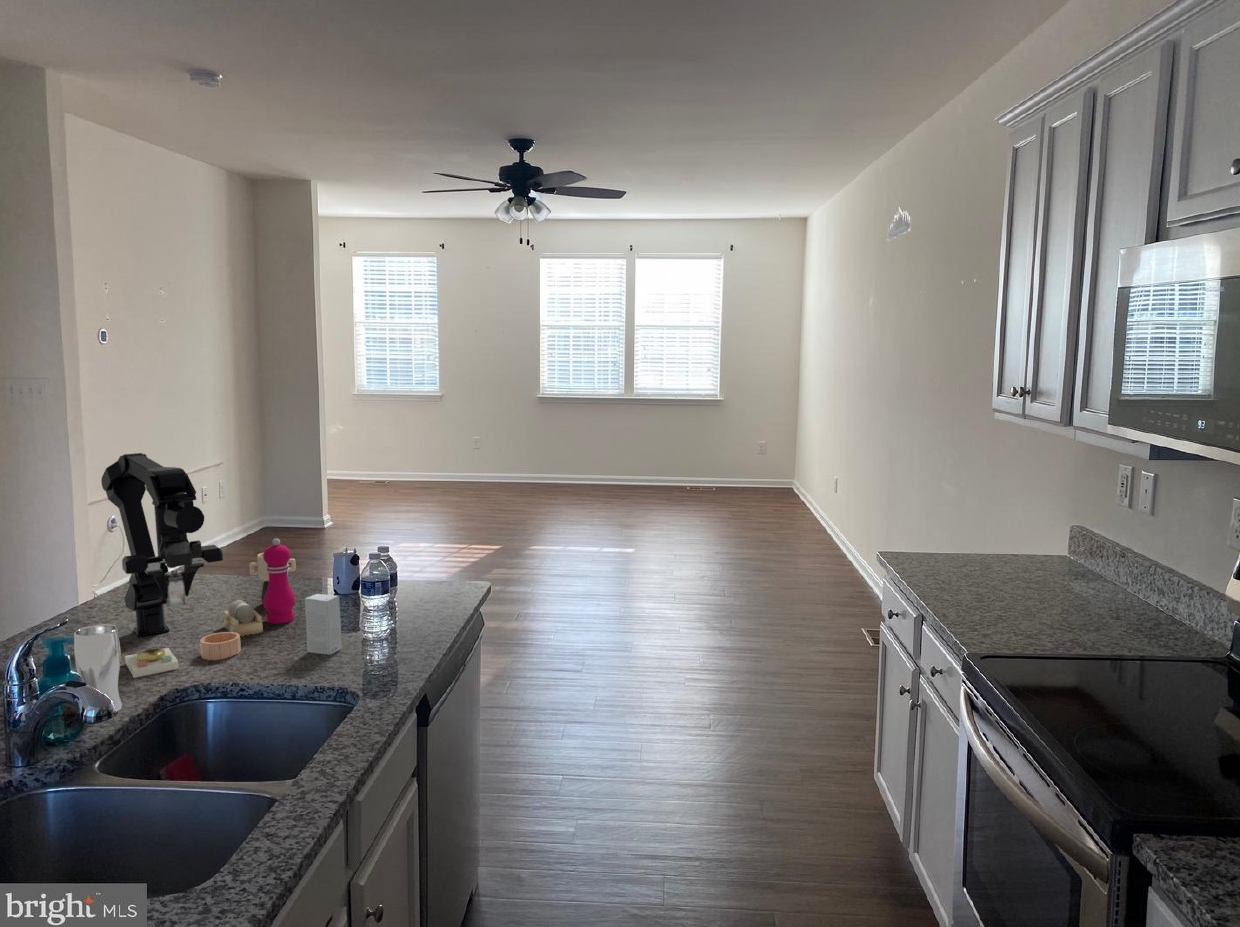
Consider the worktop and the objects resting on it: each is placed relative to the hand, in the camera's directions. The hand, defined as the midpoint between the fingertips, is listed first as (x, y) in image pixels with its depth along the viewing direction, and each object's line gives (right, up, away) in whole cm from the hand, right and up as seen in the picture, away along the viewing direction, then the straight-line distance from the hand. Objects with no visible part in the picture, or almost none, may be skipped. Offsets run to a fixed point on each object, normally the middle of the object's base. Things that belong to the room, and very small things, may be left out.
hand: (176, 597), depth 184 cm
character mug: (+8, -7, +33) cm, 35 cm away
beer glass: (+4, -16, -32) cm, 36 cm away
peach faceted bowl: (+11, -12, -3) cm, 17 cm away
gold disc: (+1, -11, -11) cm, 15 cm away
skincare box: (+33, -12, -2) cm, 35 cm away
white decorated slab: (+1, -12, -11) cm, 16 cm away
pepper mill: (+15, -9, +19) cm, 26 cm away
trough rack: (+9, -9, +12) cm, 18 cm away
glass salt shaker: (0, -2, 0) cm, 2 cm away
